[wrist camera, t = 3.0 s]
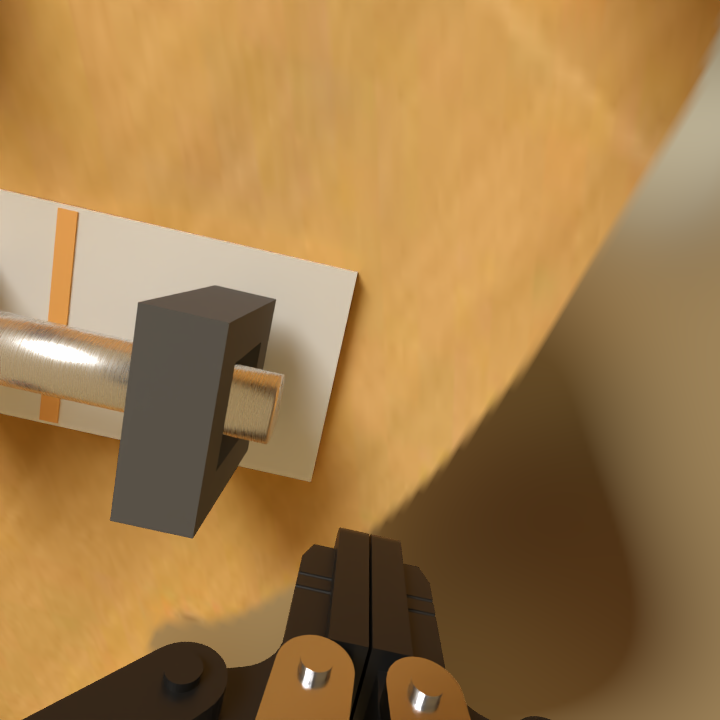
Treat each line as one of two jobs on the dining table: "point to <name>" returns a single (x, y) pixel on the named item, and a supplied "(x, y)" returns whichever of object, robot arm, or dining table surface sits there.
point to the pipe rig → (118, 316)
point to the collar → (184, 405)
